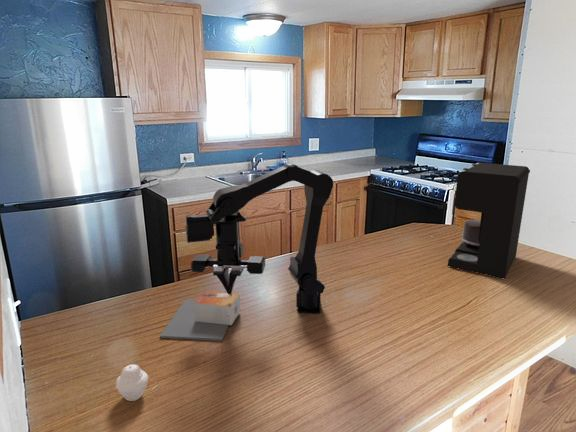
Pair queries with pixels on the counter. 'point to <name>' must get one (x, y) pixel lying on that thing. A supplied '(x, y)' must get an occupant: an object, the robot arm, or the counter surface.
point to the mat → (192, 326)
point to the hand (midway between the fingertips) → (230, 293)
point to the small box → (217, 307)
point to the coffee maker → (490, 217)
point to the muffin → (132, 382)
